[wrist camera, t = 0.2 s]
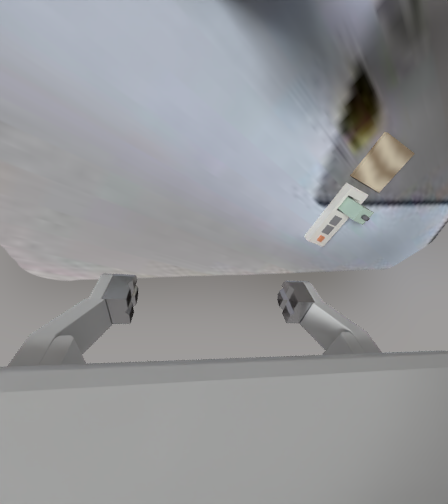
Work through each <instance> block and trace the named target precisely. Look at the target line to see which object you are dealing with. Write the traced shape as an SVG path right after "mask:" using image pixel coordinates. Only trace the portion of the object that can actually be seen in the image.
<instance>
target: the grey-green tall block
mask: <svg viewBox="0 0 448 504" xmlns="http://www.w3.org/2000/svg"><path fill="white" fill-rule="evenodd" d="M338 209H339V210H341V211H342V212H343V213H344V214H346V215H347V216H348V217H350V218H351V219H352V220H354V221H356V222H358V223H360V224H362V225H363V224H364V223H365V222H366V221H368V220H369V217H370V216H371V215H372V214H373V212H372V211H370V210H369V209H367V208H366V207H364V206H362V205H361V204H359V203H358V202H356V201H355V200H353V199H351V198H350V197H347V198H346V199H345V200H344V201H343V203H342V204H341V205H340V206H339V207H338Z"/></svg>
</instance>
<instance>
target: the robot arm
mask: <svg viewBox="0 0 448 504" xmlns="http://www.w3.org/2000/svg"><path fill="white" fill-rule="evenodd" d="M136 282H137V277H136V275H124V274H105V273H103V274H102V275H101V276H100V278H99V280H98V282H97V284H96V286H95V288H94V289H93V291H92V293H91V295H90V297H89V299H84V300H83V301H81V302H79V303H78V304H76V305H75V306H73V307H72V308H70V309H69V310H67V311H66V312H64V313H63V314H61V315H59V316H58V317H57V318H55V319H53V320H52V321H50V322H49V323H47V324H46V325H44V326H43V327H41V328H39V329H38V330H36V331H35V332H33V333H32V334H30V335H29V336H28V338H27V339H26V341H25V342H24V343H23V345H22V346H21V348H20V349H19V351H18V352H17V353H16V355H15V356H14V358H13V359H12V361H11V362H10V363H9V365H8V366H7V367H0V504H448V351H419V352H392V353H382V352H381V351H380V349H379V348H378V347H377V345H376V344H375V342H374V341H373V340H372V338H371V337H370V336H369V334H368V333H367V332H366V331H365V330H364V329H362V328H361V327H360V326H358V325H357V324H355V323H354V322H352V321H351V320H350V319H348V318H347V317H346V316H344V315H343V314H341V313H340V312H338V311H337V310H335V309H334V308H332V307H331V306H330V305H329V304H327V303H324V302H323V300H322V299H321V298H320V296H319V294H318V293H317V291H316V290H315V288H314V286H313V285H312V283H311V282H309V281H285V282H283V284H282V287H283V289H281V290H280V291H279V293H278V299H277V300H278V304H279V306H280V307H281V308H282V309H283V312H282V314H283V316H284V319H285V321H286V323H300V325H301V326H302V327H303V328H304V329H305V330H306V331H307V332H308V333H309V334H310V335H311V336H312V337H313V338H314V339H315V340H316V341H317V342H318V343H319V344H320V345H321V346H322V347H323V348H324V349H325V350H326V351H325V352H324V353H323V355H311V356H286V357H285V356H284V357H256V358H230V359H203V360H176V361H148V362H121V363H93V364H86V362H85V360H84V358H83V356H82V354H83V353H84V352H85V351H86V350H87V349H88V348H89V347H90V346H91V345H92V344H93V343H94V342H95V341H96V340H97V339H98V338H99V337H100V336H101V335H102V334H103V333H104V332H105V331H106V330H107V329H108V328H109V327H110V326H111V325H112V324H129V323H131V320H132V317H133V313H134V310H133V307H134V306H135V305H136V303H137V299H138V287H137V286H136Z"/></svg>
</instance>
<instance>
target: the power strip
mask: <svg viewBox="0 0 448 504" xmlns="http://www.w3.org/2000/svg"><path fill="white" fill-rule="evenodd" d="M348 195H349V196H351V197H353V200H355V201H356V202H358V203H359V204H362V203H363V201H364V200H365V199H366V198H367V197H368V196H369V195H367V194H365V193H364V192H362V191H360V190H358V189H357V188H355V187H353V186H351V185H350V184H348V183H346V184H345V185H344V186H343V188H342V189H341V190H340V191H339V193H338V194H337V195H336V196H335V198H334V199H333V200H332V201H331V203H330V204H329V205H328V206H327V208H326V209H325V210H324V212H323V213H322V214H321V215H320V217H319V218H318V219H317V220H316V222H315V223H314V224H313V225H312V227H311V228H310V229H309V230H308V232H307V233H306V234H305V235H304V237H305V238H306V239H307V240H308V241H309V242H312V243H314V244H317V245H320V246H322V247H324V245H325V244H326V243H327V242H328V241H329V240H330V239H331V237H332V236H333V235H334V234H335V233H336V232H337V231H338V230H339V228H340V227H341V226H342V225H343V224H344V223H345V222H346V221H347V219H348V218H349V217H348V216H347V215H346V214H344V213H343V212H342V211H341V210H339V209H338V207H339V206H340V205H341V204H342V203H343V201H344V200H345V199H346V198H347V197H348Z"/></svg>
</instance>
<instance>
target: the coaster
mask: <svg viewBox="0 0 448 504" xmlns="http://www.w3.org/2000/svg"><path fill="white" fill-rule="evenodd" d="M413 155H414V153H413V152H412V151H411V150H409V149H408V148H407V147H405V146H404V145H403V144H401V143H400V142H399V141H398V140H396V139H395V138H394V137H392V136H391V135H390V134H389V133H386V132H384V134H383V135H382V136H381V137H380V139H379V140H378V141H377V142H376V144H375V145H374V146H373V148H372V149H371V150H370V151H369V153H368V154H367V155H366V156H365V158H364V159H363V160H362V161H361V163H360V164H359V165H358V167H357V168H356V169H355V170H354V172H353V173H352V174H351V175H350V176H352V177H353V178H355V179H357V180H358V181H360V182H362V183H363V184H365V185H367V186H368V187H370V188H372V189H373V190H375V191H377V192H380V191H381V190H382V189H383V188H384V187H385V186H386V185H387V183H388V182H389V181H390V180H391V179H392V178H393V177H394V176H395V175H396V174H397V172H398V171H399V170H400V169H401V168H402V167H403V166H404V165H405V164H406V163H407V161H408V160H409V159H410V158H411V157H412V156H413Z"/></svg>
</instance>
